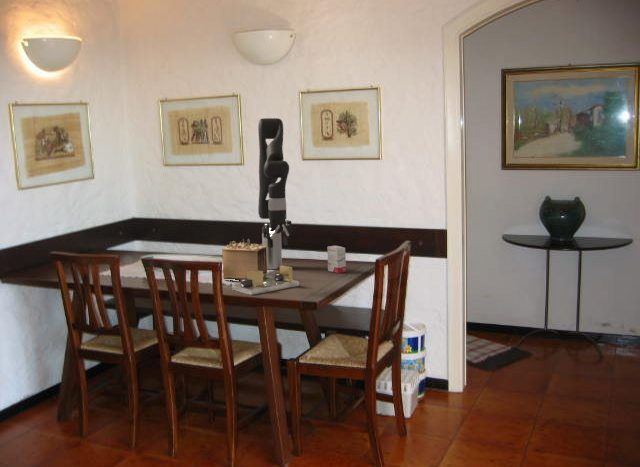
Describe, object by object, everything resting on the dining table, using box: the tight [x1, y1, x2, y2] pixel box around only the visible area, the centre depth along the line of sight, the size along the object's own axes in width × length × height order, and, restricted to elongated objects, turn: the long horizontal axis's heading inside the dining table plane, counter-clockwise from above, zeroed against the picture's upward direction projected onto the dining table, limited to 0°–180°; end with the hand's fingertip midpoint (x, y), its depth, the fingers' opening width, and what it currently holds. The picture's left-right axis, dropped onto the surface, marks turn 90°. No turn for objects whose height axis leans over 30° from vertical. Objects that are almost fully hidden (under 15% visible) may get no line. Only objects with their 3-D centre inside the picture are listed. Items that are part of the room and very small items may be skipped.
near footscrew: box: [240, 270, 263, 287], centre depth 307 cm, size 9×5×6 cm, turn 90°
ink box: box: [326, 245, 347, 274], centre depth 344 cm, size 9×5×12 cm, turn 33°
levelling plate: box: [231, 276, 300, 296], centre depth 312 cm, size 14×25×5 cm, turn 130°
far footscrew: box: [274, 264, 293, 282], centre depth 317 cm, size 9×5×6 cm, turn 40°
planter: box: [221, 238, 274, 280], centre depth 330 cm, size 25×25×19 cm
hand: (278, 246), depth 312 cm, fingers open, 8 cm apart
